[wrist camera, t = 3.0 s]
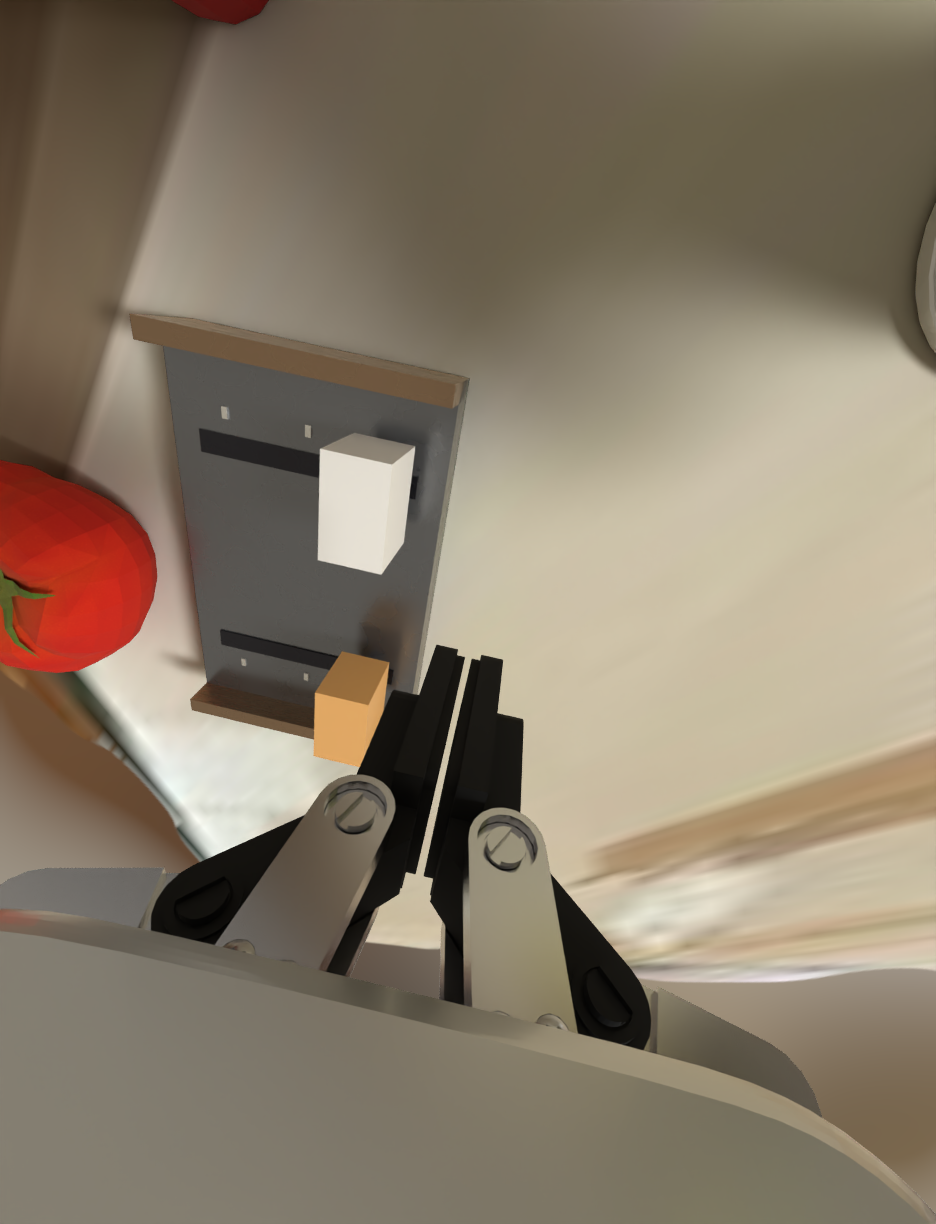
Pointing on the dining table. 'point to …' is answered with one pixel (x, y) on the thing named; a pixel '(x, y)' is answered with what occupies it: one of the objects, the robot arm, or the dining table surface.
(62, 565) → the tomato
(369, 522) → the block
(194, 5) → the plastic cup
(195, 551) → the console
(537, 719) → the dining table surface
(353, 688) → the block
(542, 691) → the dining table surface
